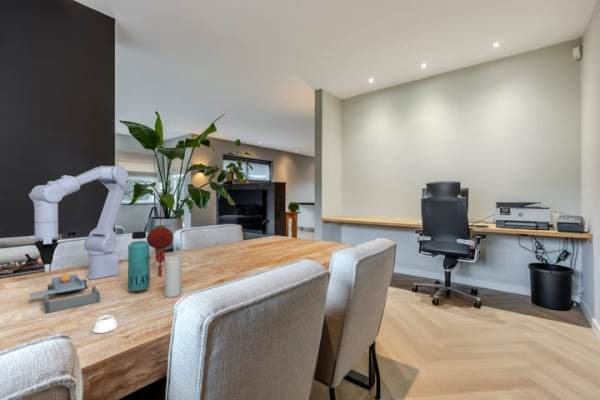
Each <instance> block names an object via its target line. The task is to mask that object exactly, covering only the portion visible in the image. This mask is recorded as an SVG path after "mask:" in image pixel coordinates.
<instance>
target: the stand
mask: <svg viewBox="0 0 600 400" xmlns="http://www.w3.org/2000/svg"><path fill="white" fill-rule="evenodd" d="M81 280H82V281H83V282H84V288H82V289H76V290H70V291H65V292H59V293H53V294H48V297H49V296H53V295H60V294H64V293H70V292H71V293H72V292H76V291H77V292H78V291H81V290H83V291H84V290H88V288H89V287H88V285H87V279H86V278H83V279H81ZM47 290H53V287H52V283H51V284H47Z"/></svg>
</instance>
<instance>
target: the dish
mask: <svg viewBox="0 0 600 400" xmlns="http://www.w3.org/2000/svg"><path fill="white" fill-rule="evenodd" d="M43 296H44V297H43V298H44V299H43V300H44V301H43V302H44V312H45V313H44V314H49V313H55V312H60V311H63V310H69V309H73V308H79V307H83V306H87V305H93V304H97V303H98V304H99V303H100V302H101V299H100V298H101V293H100V291H99V290H98V288H97V287H96V286H95V285H93V286H91V293H89V294H83V295H78V296H72V297H67V298H62V299H55V300H51V301H50V297H49V296H48V294H46V295H43Z"/></svg>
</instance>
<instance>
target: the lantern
mask: <svg viewBox="0 0 600 400" xmlns="http://www.w3.org/2000/svg"><path fill="white" fill-rule="evenodd" d="M161 208H162V200H159V225H155V227H154V228H153V229H151V230H150V231H149V232H148V234H147V235H146V242H147V243H149V244H150V246H149V247H151V248H153V249H154V250H155V262H157V263H158V264H159V265H158V266H157V267H158V272H157V273H158V275H157V276H158V277H161V278H162V276H163V272H162V271H163V265H162V263H163V262H165V259H166V258H165V255H166V254H165V252H166V248H167V247H169V246H170V245H172V243H173V240H174V234H173V232H172V231H171V230H170V229H168V228H167V227H166V225H162V221H161V220H162V219H161V217H162V216H161V215H162V213H161V212H162V209H161Z"/></svg>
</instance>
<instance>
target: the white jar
mask: <svg viewBox="0 0 600 400" xmlns="http://www.w3.org/2000/svg"><path fill="white" fill-rule="evenodd" d="M118 326H119V323H118V321H117V320H116V318H115V317H114V315H112V314H106V315H102V316H99V317H98V318H97V320H96V321H95V324H94V325H93V327H92V329H91V330H92V333H93V334H94V333H95V334H105V333H110V332H112V331H113V330H116V329H117V328H118Z"/></svg>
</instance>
